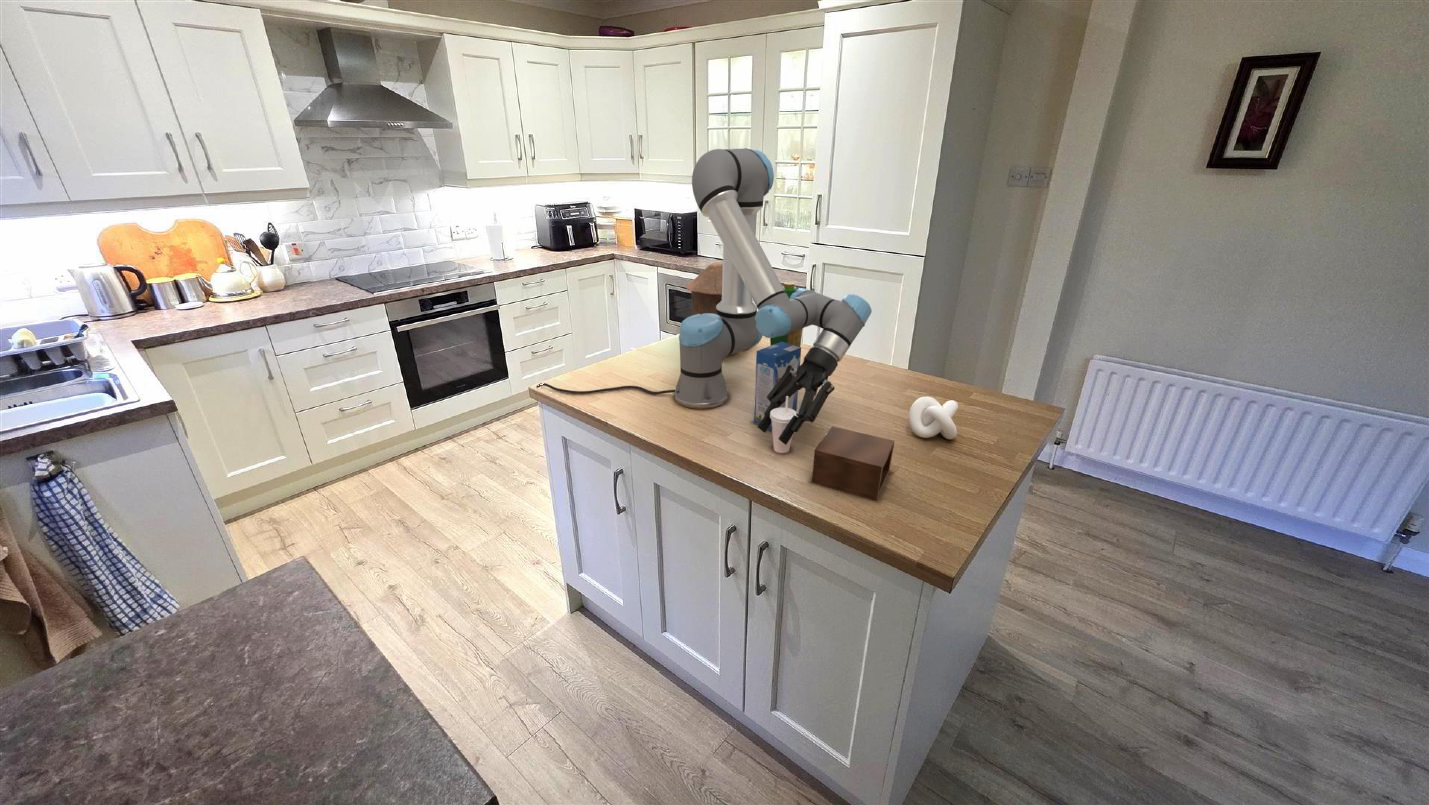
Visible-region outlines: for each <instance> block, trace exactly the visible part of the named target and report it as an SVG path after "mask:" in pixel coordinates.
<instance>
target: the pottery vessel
mask: <svg viewBox="0 0 1429 805" xmlns="http://www.w3.org/2000/svg"><path fill="white" fill-rule="evenodd" d="M722 274H723V262H712V263H710V264H708V266H706V267H705V268H704V269H703V270H702V271H701V272H700V273H699V274H698V275H697V276H696V277H695V278H694V279H693V280H691V281H690V282H688V283H686V285H685V288H686V289H687V290H688V291H690V296H691V316H693V315H696V314H703V313H711V314H716V306H717V304H718V303H720V302H721V300H722Z"/></svg>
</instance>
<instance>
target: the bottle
mask: <svg viewBox="0 0 1429 805" xmlns="http://www.w3.org/2000/svg"><path fill="white" fill-rule="evenodd" d="M795 284H796V283H795V282H793V281H785V282H783V285H782V287H783V288H784V290H785V292H786V294H787V295H788V297H789V299H790V297H791V295H792V294H793V293H795V291H796V290H797V289H798V288H797V287H796V286H795ZM803 329H804V328H802V329H799V330H796V331H793V332H790V333H788V334H786V335H783V336H779V337H775V338H769V341H770V343H769V346H771V345H774V344H777V343H780V342H785V343H788V344H791V345H794V346H798V347H801V344H802V338H803V337H802V336H803V331H804V330H803Z"/></svg>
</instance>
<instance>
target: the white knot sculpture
mask: <svg viewBox="0 0 1429 805" xmlns="http://www.w3.org/2000/svg"><path fill="white" fill-rule="evenodd" d="M958 409H959V404H958V402H957V401H956V400H951V399H950V400H948V401H947V400H946V401H945V403H943V404H942V405H941V403H940V402H939V401H938V400H937V399H935V397H932V396H921V397H919V398H917V399H916V400H915V401H914V402H913V403H912V405H911V406H910V409H909V411H908V424H909V426H910V429H911V431H912V433H914V434H915V435H916V436H918V437H920V438H924V439H928V438H929V439H930V438H933V437H935V436H937V435H938V434H941V436H942V437H943V438H945V439H946V440H953V439H955V438H956V437H957V435H958V429H957V427H956V424H955V423H954V422H955V421H953V419H952V418H953V417H954V415H955V414H956V412H957V411H958Z"/></svg>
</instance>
